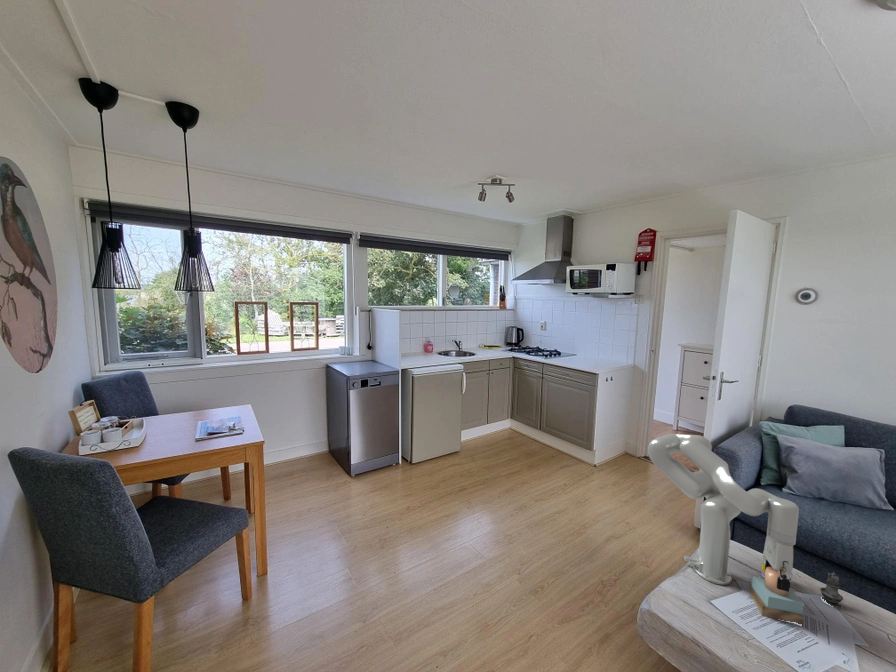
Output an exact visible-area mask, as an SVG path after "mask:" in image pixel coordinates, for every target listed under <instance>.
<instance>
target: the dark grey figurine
mask: <svg viewBox="0 0 896 672" xmlns="http://www.w3.org/2000/svg"><path fill="white" fill-rule="evenodd" d="M825 582H826V583H825V584H826V585H825V587H820V589H819V590H820V592H821V597H822V599H824V601H825V600H826V602H827V603H828V604H830V605H831V606H833V607H834V609H837V610H839V609H842V605H841V604H840V603H841V602H842V601H843V600H844V597H843V596H842V595H841V594H840V593H839V588H840V585H839V584H840V583H839V582H840V577H839V576H838V575H837V574H836V572H835V571H832V572H828V574H827V580H825ZM833 607H832V608H833Z"/></svg>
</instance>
